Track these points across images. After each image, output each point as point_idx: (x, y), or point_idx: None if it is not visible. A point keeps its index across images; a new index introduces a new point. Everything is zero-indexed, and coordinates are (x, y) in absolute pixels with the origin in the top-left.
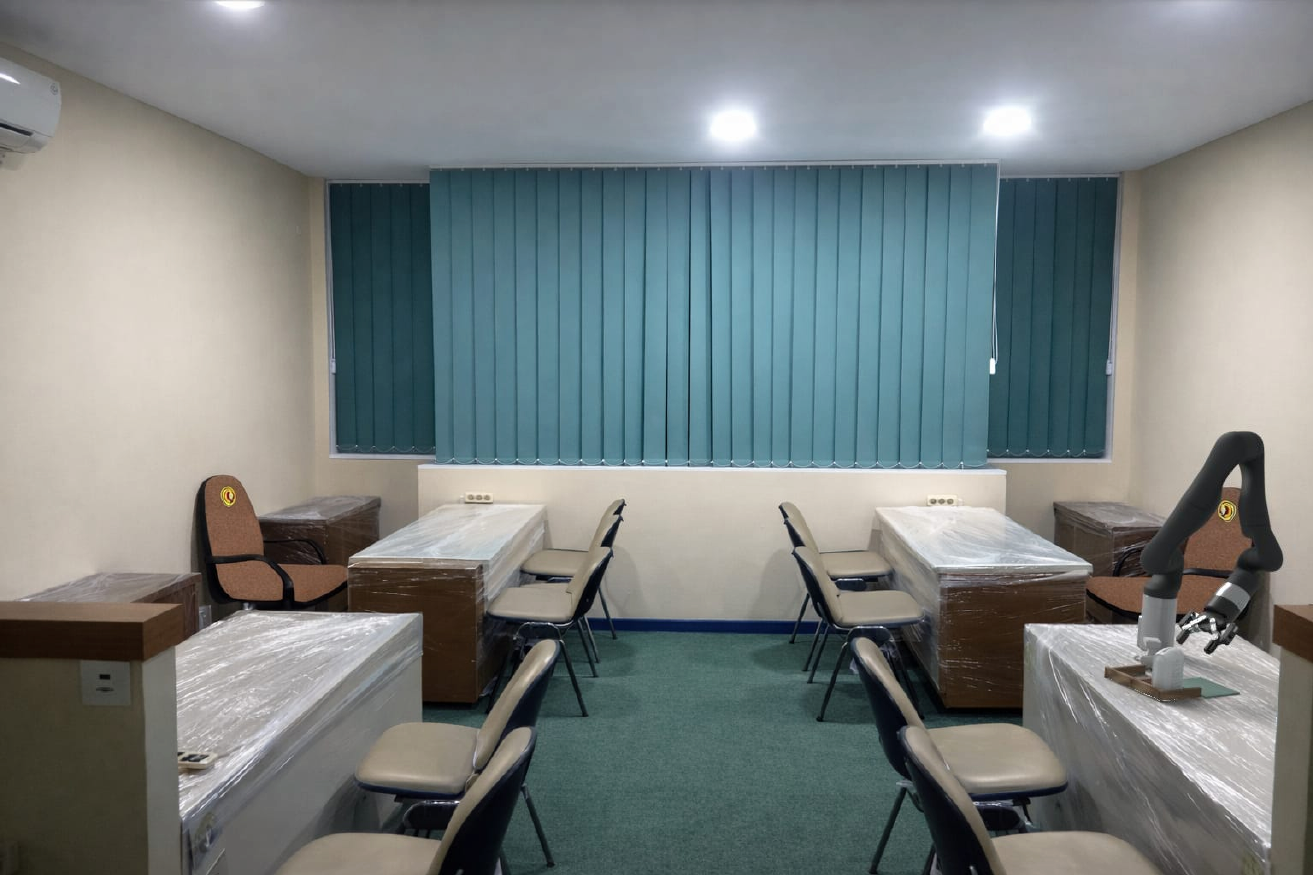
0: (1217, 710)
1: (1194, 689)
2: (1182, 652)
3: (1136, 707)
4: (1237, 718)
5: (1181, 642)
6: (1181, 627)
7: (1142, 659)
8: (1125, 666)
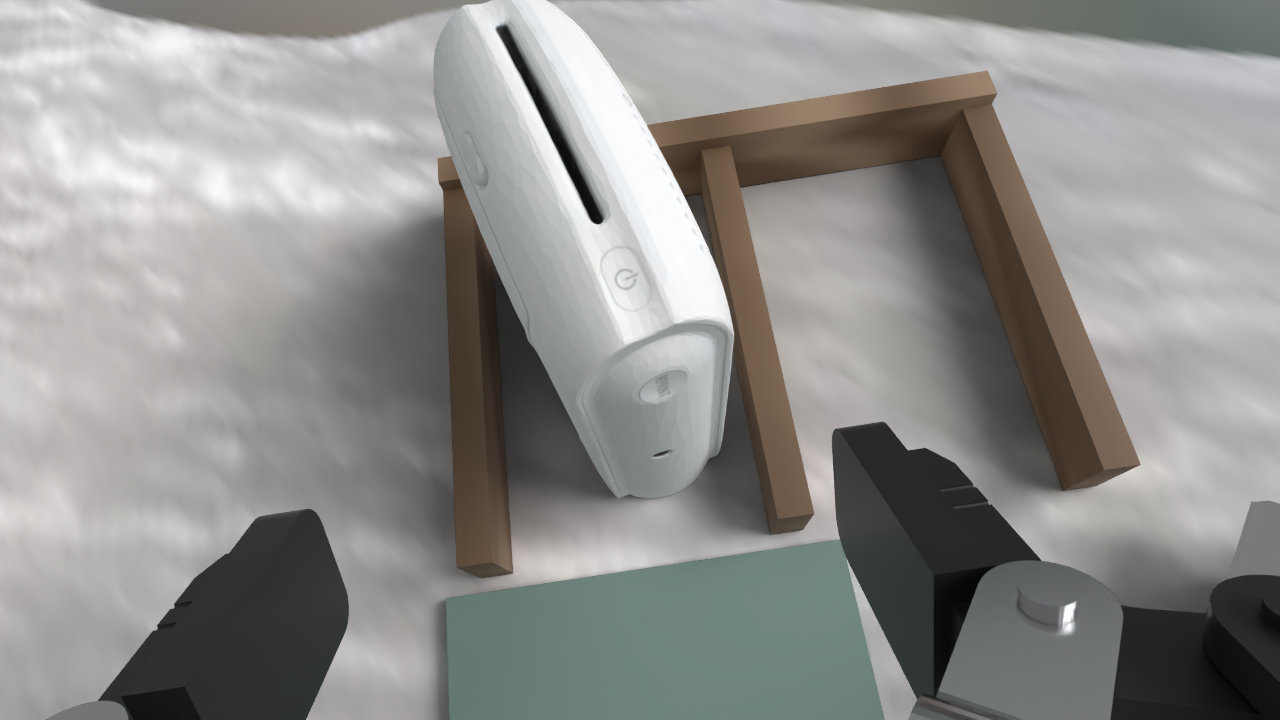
0: (231, 491)
1: (456, 481)
2: (560, 343)
3: (428, 34)
4: (74, 525)
5: (846, 521)
6: (1169, 622)
7: (1261, 519)
8: (1043, 256)
